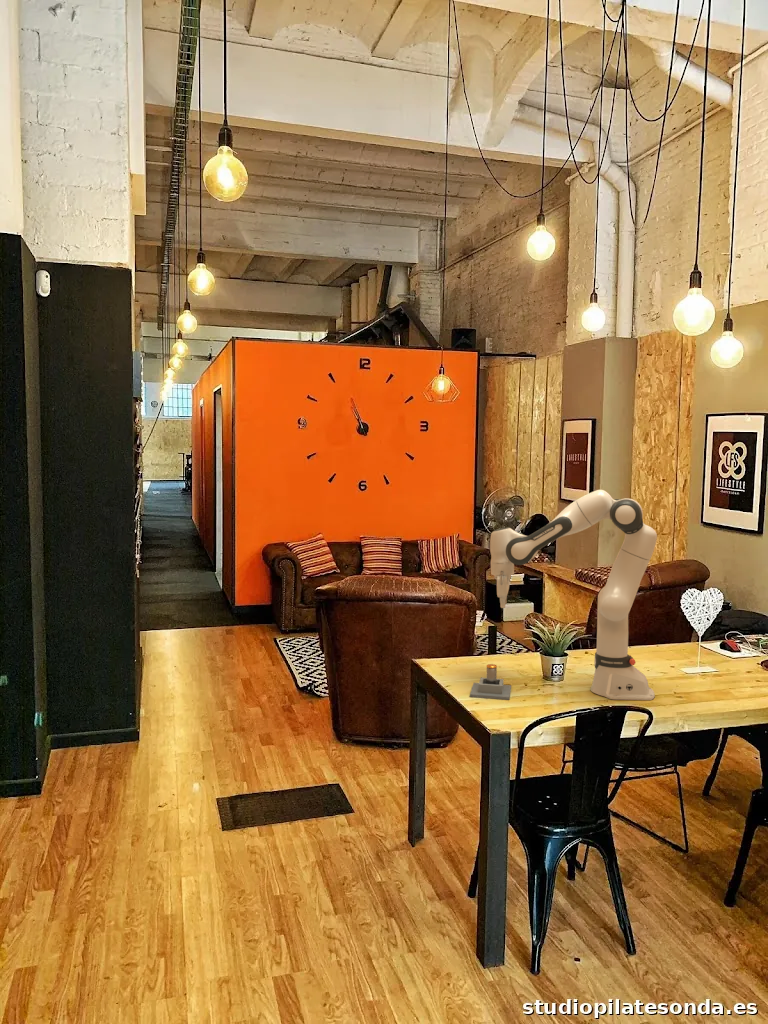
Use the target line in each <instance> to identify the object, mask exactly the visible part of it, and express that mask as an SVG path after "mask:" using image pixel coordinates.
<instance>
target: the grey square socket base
mask: <svg viewBox="0 0 768 1024" xmlns="http://www.w3.org/2000/svg"><path fill="white" fill-rule="evenodd" d="M486 679H487V677H480V678H479V682H473V684H472V687H471V690H470V693H469V698H478V699H490V700H506V701H507V700H508V701H510V700H511V699H510V698H511V693H512V685H510V684H504V678H496V685H495V684H486Z"/></svg>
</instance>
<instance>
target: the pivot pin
mask: <svg viewBox="0 0 768 1024" xmlns="http://www.w3.org/2000/svg"><path fill="white" fill-rule="evenodd" d="M497 668H498V665H497V664H493V663H490V664H486V678H487V679H486V684H495V685H496V679H497V670H498V669H497Z"/></svg>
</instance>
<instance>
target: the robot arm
mask: <svg viewBox="0 0 768 1024" xmlns="http://www.w3.org/2000/svg"><path fill="white" fill-rule="evenodd" d="M642 507H643V506H642V505H641V504H640V503H639V502H638V501H637V500H635V499H632V498H625V497H624V498H618V499H617V498H615V499H614V498H613V497H612V495H610V493H608V492H607V491H606V490H604V489H595V490H594V491H591V492H589V493H587V494H585V495H582V496H581V497H579V498H577V499H576V500H574V501H573V502H571V503H570V504H568V505H567V506H566V507H564V509H562V510H561V512H559V513H558V514H557V515H556V516H555V517H554V518H553V519H552V520H551V521H550V522H548V523H547V524H546V525H544V526H542V527H541V528H539V529H538V530H536V531H534V532H533V533H531V534H529V535H525V534H522V533H519V532H518V531H515V530H514V529H512V528H511V527H502V528H497V529H494V530H493V531H491V534H490V542H489V547H490V548H489V551H490V555H491V559H490V574H491V575H490V576H494V580H496V595H497V596H496V597H497V598H499V603H500V605H499V606H500V608H501V609H505V608H506V605H507V603H508V601H507V599H508V597H507V596H508V595H509V590H510V583H511V581H510V580H511V579H512V576H513V575H515V566H523V565H525V564H528V563H529V562H530V561H531V560H534V559H535V557H537V555H538V553H539V550H542V548H544V547H545V546H547V545H549V544H551V543H552V542H554V541H557V540H558V539H560V538H563V537H566V536H569V535H574V534H577V533H580V532H582V531H585V530H587V529H588V528H590V527H592V526H594V525H596V524H597V523H599V522H601V521H603V520H611V521H612V523H613V524H614V526H615V527H617V529H620V531H622V533H624V539H623V542H622V544H621V546H620V548H619V549H618V553H617V555H616V557H615V559H614V561H613V564H612V567H611V569H610V572H609V574H608V578H607V580H606V583H605V586H604V587H602V588H601V589H600V591H598V595H597V613H596V614H597V618H596V619H597V621H596V624H597V625H596V651H595V653H594V662H593V663H594V674H593V679H592V684H591V686H590V691H591V692H592V693H594V694H596V695H599V696H602V697H606V698H607V699H609V700H626V701H628V700H629V701H630V700H632V701H634V700H635V701H637V700H638V701H651V700H654V699H655V694H656V693H655V691H654V690H653V688H652V687H650V686H649V682H648V679H647V676H646V675H645V674H644V673H642V672H641V671H640V670H639V669H638V668H636V667H635V666H634V665H636V660H635V659H634V658H633V657H632V656H631V654H628V653H629V651H628V650H629V648H628V647H629V614H630V611H631V608H632V606H633V603H634V601H635V599H636V595H637V593H638V591H639V587H640V585H641V581H642V579H643V577H644V575H645V573H646V570H647V568H648V566H649V563H650V561H651V559H652V557H653V553H654V551H655V548H656V545H657V540H658V534H657V531H656V530H655V529H654V528H653V527H652V526H649V525H647V524H645V523H644V521H643V519H644V518H643V517H644V512H643V511H644V510H643V508H642Z"/></svg>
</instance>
